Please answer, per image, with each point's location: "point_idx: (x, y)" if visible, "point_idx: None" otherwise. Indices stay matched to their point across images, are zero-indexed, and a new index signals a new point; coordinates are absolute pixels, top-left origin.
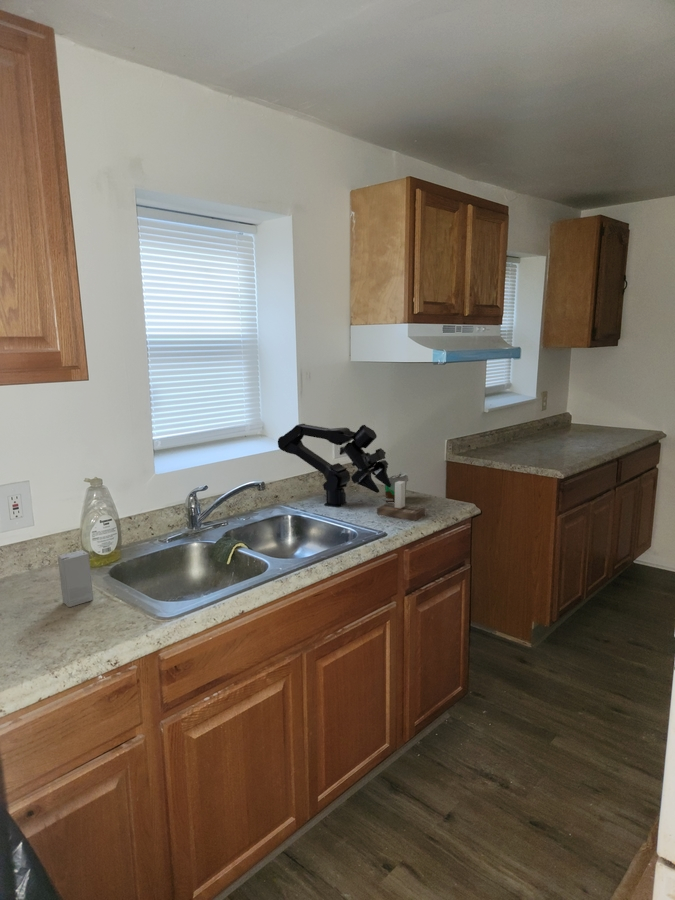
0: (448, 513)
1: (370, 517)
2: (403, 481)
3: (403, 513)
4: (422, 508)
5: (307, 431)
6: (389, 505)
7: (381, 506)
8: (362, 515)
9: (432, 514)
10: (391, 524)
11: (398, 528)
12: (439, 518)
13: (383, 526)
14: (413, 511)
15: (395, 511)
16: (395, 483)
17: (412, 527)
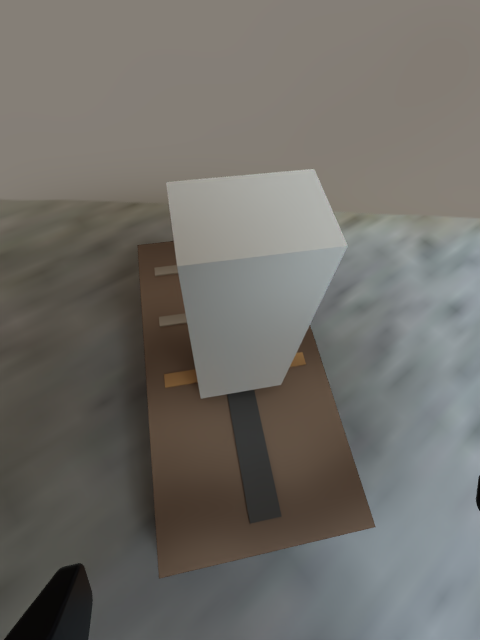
0: (46, 208)
1: (440, 514)
2: (176, 200)
3: None
4: (150, 253)
5: None
6: (233, 483)
7: (311, 523)
8: (466, 621)
9: (108, 252)
10: (416, 313)
11: (428, 256)
12: (156, 203)
13: (476, 324)
14: None
15: (316, 352)
16: (341, 241)
17: (362, 222)
